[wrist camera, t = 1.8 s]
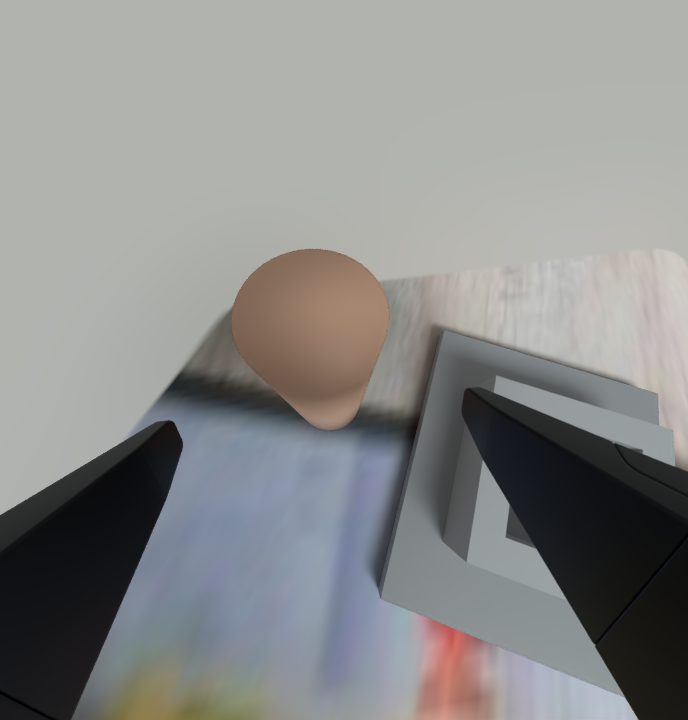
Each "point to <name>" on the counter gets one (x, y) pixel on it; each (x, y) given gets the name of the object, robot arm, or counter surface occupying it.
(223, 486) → the counter surface
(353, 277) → the dowel
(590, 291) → the counter surface
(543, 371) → the socket
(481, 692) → the counter surface
